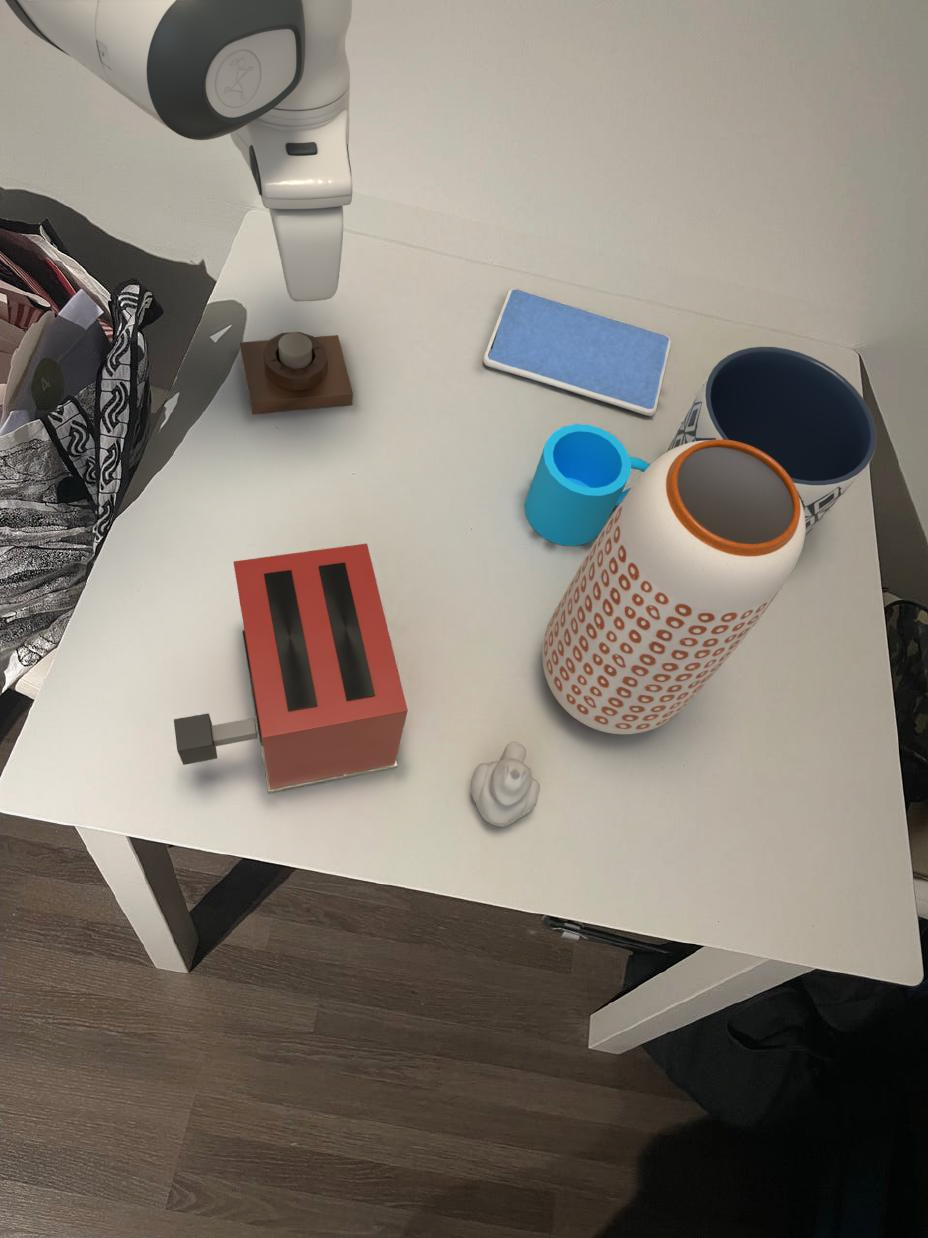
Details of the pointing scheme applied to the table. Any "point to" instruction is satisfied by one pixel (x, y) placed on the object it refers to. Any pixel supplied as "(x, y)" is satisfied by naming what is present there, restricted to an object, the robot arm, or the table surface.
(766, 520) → the vase
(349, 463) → the table surface
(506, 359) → the tablet
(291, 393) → the control block
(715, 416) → the planter
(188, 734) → the toaster slider
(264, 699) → the toaster
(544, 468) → the mug
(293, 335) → the button
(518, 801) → the rubber duck
